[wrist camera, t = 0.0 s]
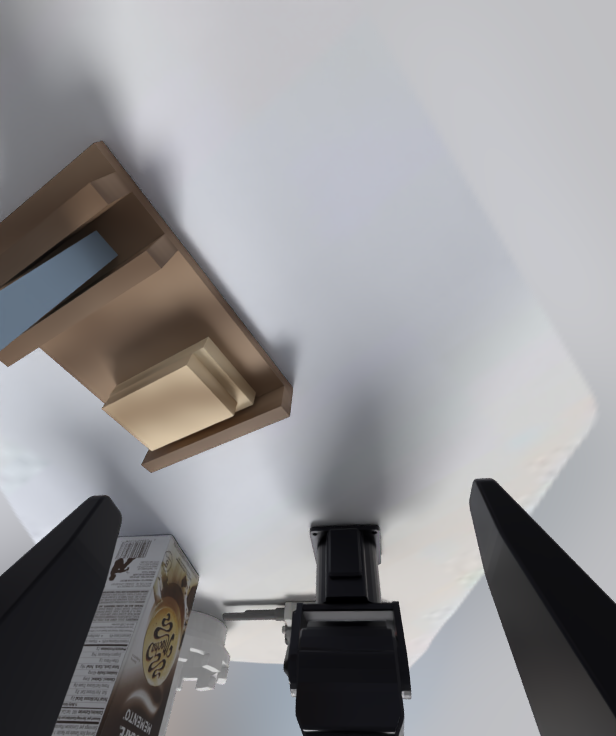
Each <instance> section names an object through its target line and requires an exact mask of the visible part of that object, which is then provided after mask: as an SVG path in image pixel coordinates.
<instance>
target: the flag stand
mask: <svg viewBox="0 0 616 736" xmlns="http://www.w3.org/2000/svg"><path fill="white" fill-rule="evenodd" d="M226 634H227V628H226V626H225V625H224V624H223V623H222V622H221V621H220V620H218V619H216V618H214V617H213V616H210V615H207V614H204V613H201V612H197V611H192V610H191V613H190V616H189V620H188V624H187V628H186V632H185V635H184V639H183V643H182V647H181V651H180V654H179V658H178V662H177V666H176V670H175V674H174V677H173V681H172V685H171V689H170V693H169V697H168V701H167V705H166V709H165V712H164V716H163V720H162V724H161V728H160V731H159V735H158V736H165V734H166V730H167V725H168V721H169V718H170V714H171V710H172V706H173V702H174V697H175V694H176V690H178V691H181V689H182V685H183V681H184V680H193V681H195V680H197V684H196V689H197V690H199V691H205V690H211V689H214V687H215V682H216V683H217V684H223V685H224V684H225V682H226V679H227V673H228V667H229V661H230V655H229V653H228V651H227V650H226V648H225V647H224V645H225V640H226ZM216 678H217V679H216Z"/></svg>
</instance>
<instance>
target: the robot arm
mask: <svg viewBox="0 0 616 736" xmlns="http://www.w3.org/2000/svg"><path fill="white" fill-rule="evenodd" d="M469 505H470V511H471V516H472V520H473V524H474V529H475V533H476V537H477V542H478V546H479V550H480V555H481V559H482V563H483V568H484V572H485V576H486V579H487V582H488V585H489V588H490V591H491V594H492V597H493V600H494V603H495V606H496V608H497V611H498V614H499V617H500V620H501V623H502V626H503V629H504V631H505V634H506V637H507V640H508V643H509V646H510V649H511V651H512V654H513V657H514V660H515V663H516V666H517V669H518V671H519V674H520V677H521V680H522V683H523V686H524V689H525V692H526V695H527V698H528V700H529V703H530V706H531V709H532V712H533V715H534V718H535V720H536V723H537V726H538V729H539V732H540V735H541V736H616V603H615V602H614V601H613V600H612V599H611V598H610V597H609V596H608V595H607V594H606V593H605V592H604V591H603V590H602V589H601V588H600V587H599V586H598V585H597V584H596V583H595V582H594V581H593V580H592V579H591V578H590V577H589V576H588V575H587V574H586V573H585V572H584V571H583V570H582V569H581V568H580V567H579V566H578V565H577V564H576V562H575V561H574V560H573V559H571V557H569V555H568V554H567V553H566V552H565V551H564V550H563V549H562V548H561V547H560V546H559V545H558V544H557V543H556V542H555V541H554V540H553V539H552V538H551V537H550V536H549V535H548V534H547V533H546V532H545V531H544V530H543V529H542V528H541V527H540V526H539V525H538V524H537V523H536V522H535V521H534V520H533V519H532V518H531V517H530V516H529V515H528V513H527V512H526V511H525V510H524V509H523V508H522V507H521V506H520V505H519V504H518V503H517V502H516V501H515V500H514V499H513V498H512V497H511V496H510V495H509V494H508V493H507V492H506V491H505V490H504V489H503V488H502V487H501V486H500V485H499V484H498V483H497V482H496V481H495V480H493V479H491V478H482V479H475V480H474V481H473V484H472V489H471V494H470V500H469ZM121 522H122V515H121V513H120V511H119V510H118V508H117V507H116V505H115V504H114V503H113V501H112V500H111V498H110V497H109V496H106V495H100V496H92V497H90V498H88V499H87V500H86V501H84V502H83V503H82V504H81V505H80V506H79V507H78V508H77V509H75V510H74V511H73V512H72V513H71V514H70V515H69V516H68V517H66V518H65V519H64V520H63V521H62V522H61V523H60V524H59V525H57V526H56V527H55V528H54V529H53V530H52V531H51V532H50V533H48V534H47V535H46V536H45V537H44V538H43V539H42V540H41V541H39V542H38V543H37V544H36V545H35V546H34V547H33V548H32V549H31V550H29V551H28V552H27V553H26V554H25V555H24V556H23V557H21V558H20V559H19V560H18V561H17V562H16V563H15V564H14V565H12V566H11V567H10V568H9V569H8V570H7V571H6V572H4V573H3V574H2V575H1V576H0V736H52V734H53V731H54V728H55V725H56V722H57V720H58V717H59V714H60V711H61V708H62V706H63V703H64V700H65V697H66V694H67V692H68V689H69V686H70V683H71V680H72V677H73V675H74V672H75V669H76V666H77V663H78V661H79V658H80V655H81V652H82V649H83V647H84V644H85V641H86V638H87V635H88V633H89V630H90V627H91V624H92V621H93V619H94V616H95V613H96V610H97V607H98V605H99V602H100V599H101V596H102V593H103V590H104V587H105V584H106V581H107V578H108V574H109V570H110V566H111V562H112V558H113V554H114V550H115V547H116V543H117V539H118V535H119V531H120V527H121ZM310 538H311V542H312V547H313V551H314V555H315V560H316V564H317V571H316V603H303V602H297V606H296V610H295V611H293V612H292V624H291V634H290V639H289V643H288V647H287V652H286V656H285V660H284V672H285V673H286V674H287V676H288V677H289V684H290V691H291V695H292V697H296V717H297V721H298V723H299V726H300V728H301V731H302V734H303V736H404V708H403V699H411V685H410V675H409V666H408V658H407V651H406V645H405V639H404V632H403V626H402V620H401V614H400V607H399V602H398V601H392V603H382V601H381V591H380V581H379V571H378V565H379V564H381V550H380V529H379V527H378V526H376V525H368V526H337V527H313V528H311V529H310Z"/></svg>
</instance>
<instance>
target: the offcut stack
mask: <svg viewBox="0 0 616 736" xmlns="http://www.w3.org/2000/svg"><path fill="white" fill-rule="evenodd" d="M255 394H256V392H255V391H254V390H253V388H252V387H251V386H250V385H249V384H248V383H247V381H246V380H245V379H244V378H243V377H242V375H241V374H240V373H239V372H238V371H237V370H236V368H235V367H234V366H233V365H232V364H231V363H230V361H229V360H228V359H227V358H226V357H225V355H224V354H223V353H222V352H221V351H220V350H219V348H218V347H217V346H216V345H215V344H214V342H213V341H212V340H211V339H210V338H209V337H207V338H205V339H203V340H201V341H199V342H197V343H196V344H194V345H192V346H190V347H188V348H186V349H184V350H182V351H181V352H179V353H177V354H175V355H173V356H171V357H169V358H167V359H165V360H164V361H162V362H160V363H158V364H156V365H154V366H152V367H150V368H149V369H147V370H145V371H143V372H141V373H139V374H137V375H135V376H134V377H132V378H130V379H128V380H126V381H124V382H122V383H120V384H118V385H117V386H116V387H115V388H114V390H113V391H112V393H111V394H110V395H109V397H108V398H109V399H108V400H107V402H106V403H105V404H104V406H103V407H102V410H104V411H105V412H106V413H107V414H108V415H109V416H111V417H112V418H113V419H114V420H115V421H117V422H118V423H119V424H120V425H121V426H122V427H124V428H125V429H126V430H127V431H128V432H129V433H131V434H132V435H133V436H134V437H135V438H137V439H138V440H139V441H140V442H141V443H142V444H144V445H145V446H146V447H147V448H148V449H149V450H151V451H153V450H156V449H158V448H160V447H163V446H165V445H167V444H169V443H172V442H174V441H176V440H179V439H181V438H183V437H186V436H188V435H190V434H193V433H195V432H197V431H200V430H202V429H204V428H207V427H209V426H211V425H213V424H216V423H218V422H220V421H223V420H225V419H227V418H230V417H232V416H234V413H235V412H237V411H239V410H242V409H244V408H246V407H249V406H251V405H253V403H254V399H255Z"/></svg>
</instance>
